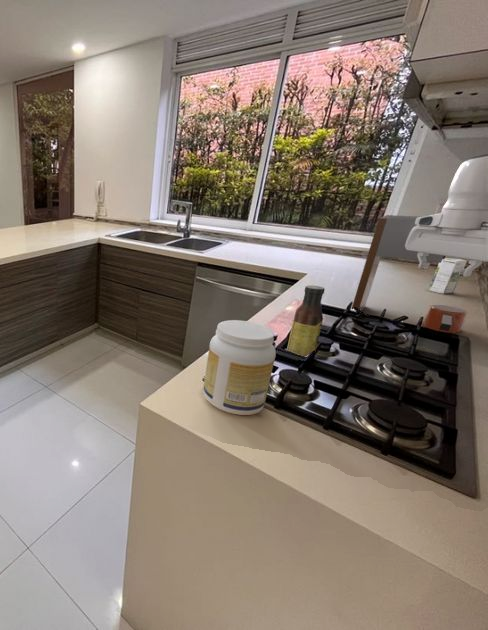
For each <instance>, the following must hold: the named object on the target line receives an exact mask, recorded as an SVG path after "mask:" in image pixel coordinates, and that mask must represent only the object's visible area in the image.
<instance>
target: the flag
mask: <svg viewBox="0 0 488 630" xmlns="http://www.w3.org/2000/svg"><path fill="white" fill-rule="evenodd" d="M424 216H425V215H423V216H422V215H396V214H395V215H394V214H386V215H384V216H381V217H379V218H378V220H377V222H376V226H375V230H374V233H373V236H372V240H371V244H370V246H369V249H368V253H367V255H366V259H365V263H364V266H363V270H362V273H361V276H360V279H359V282H358V286H357V289H356V293H355V296H354V299H353V302H352V305H351V309H353V308H354V307H357V308H359V309H361V310H362V311H363V310H364V309H365V308H366V305H367V303H368V299H369V296H370V292H371V290H372V286H373V284H374V280H375V276H376V274H377V270H378V267H379V264H380V261H381V258H389V259H397V260H399V259H400V260H410V261H418V262H419V260H418V257H417V254H418V252H416V251H409V250H407V249H406V247H405V244H406V241H407V238H408V236H409V234H410V232H411V230H412V229H413V228H414V227H415V226H418V225H415V221H416V219H417V218H419V217H424ZM445 258H446V256H444V255H437V254H430V253H429V255H428V256H426V259H427V262H428V263H438V264H439V263H441V262H442V259H445Z"/></svg>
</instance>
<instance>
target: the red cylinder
mask: <svg viewBox="0 0 488 630" xmlns="http://www.w3.org/2000/svg"><path fill="white" fill-rule="evenodd" d="M468 314H469V312H468V311H467V310H466V309H462V308H459V307H456V306H451V305H444V304H431V305H429V307H428V309H427V312H426V315H425V318H424V320H423V322H422V325H423V327H424V328H427V329H430V330H432V331H437V332H443V333H448V334H449V333H450V334H457V333H460V332H461V330H462V327H463V326H464V323H465V320H466V318H467V316H468Z"/></svg>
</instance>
